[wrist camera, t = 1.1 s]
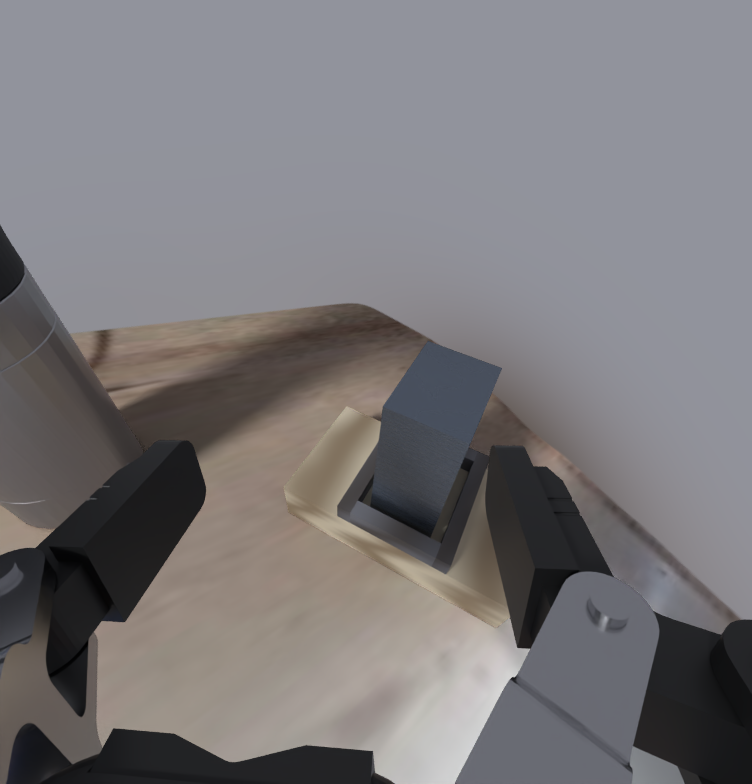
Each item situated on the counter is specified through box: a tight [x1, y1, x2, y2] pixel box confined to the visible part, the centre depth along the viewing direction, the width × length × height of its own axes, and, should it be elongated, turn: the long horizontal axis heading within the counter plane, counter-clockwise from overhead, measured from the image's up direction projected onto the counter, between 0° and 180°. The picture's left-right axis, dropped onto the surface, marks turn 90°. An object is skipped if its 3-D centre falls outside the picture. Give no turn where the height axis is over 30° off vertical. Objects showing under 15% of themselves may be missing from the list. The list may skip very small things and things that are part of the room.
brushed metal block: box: [370, 341, 502, 538], centre depth 24 cm, size 4×6×11 cm
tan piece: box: [284, 407, 510, 628], centre depth 29 cm, size 17×9×6 cm, turn 63°
